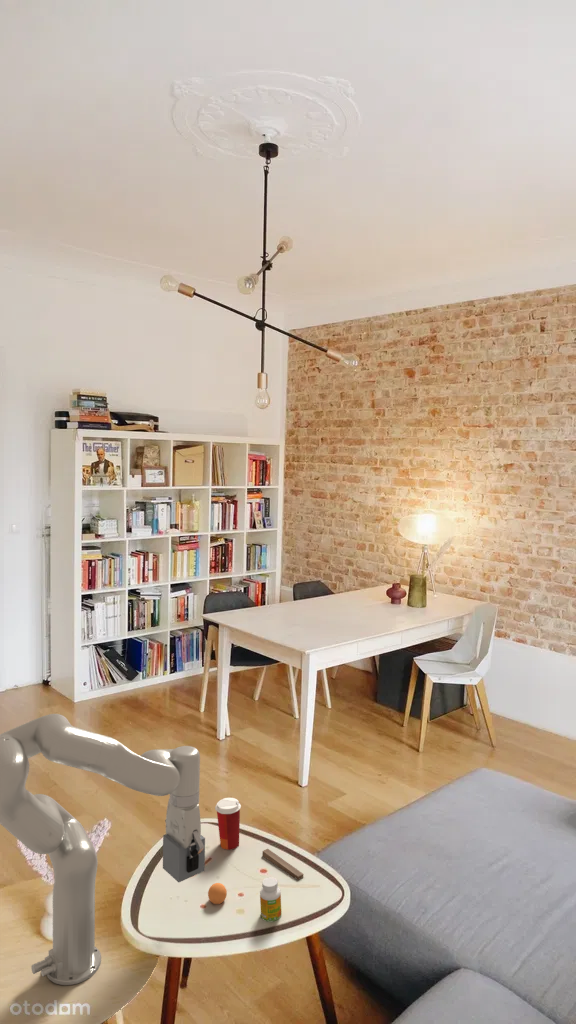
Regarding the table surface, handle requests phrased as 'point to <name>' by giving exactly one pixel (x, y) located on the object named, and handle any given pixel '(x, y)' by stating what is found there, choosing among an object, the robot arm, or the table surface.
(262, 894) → the supplement bottle
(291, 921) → the table surface
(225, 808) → the paper cup
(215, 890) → the ball
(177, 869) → the grey matte cube
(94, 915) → the robot arm
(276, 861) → the long brown rectangular bar
